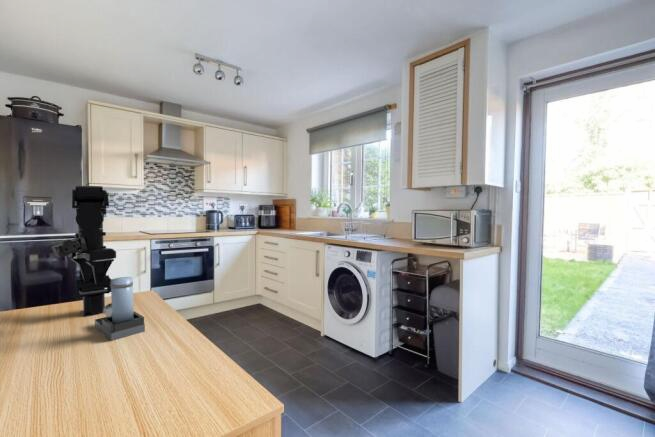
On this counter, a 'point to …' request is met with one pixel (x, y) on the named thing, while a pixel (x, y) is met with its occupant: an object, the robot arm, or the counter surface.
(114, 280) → the dome-capped cylinder
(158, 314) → the counter surface
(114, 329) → the dark grey open box
